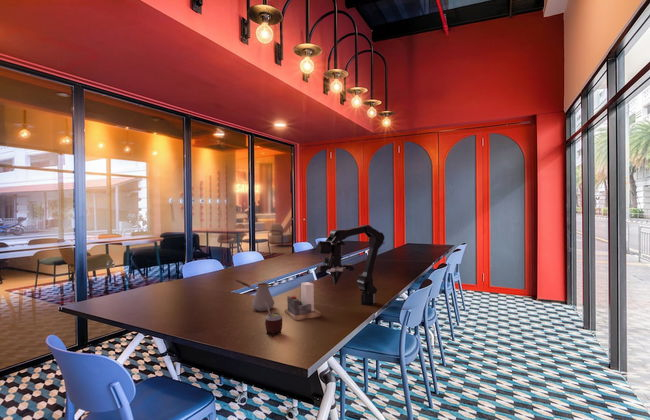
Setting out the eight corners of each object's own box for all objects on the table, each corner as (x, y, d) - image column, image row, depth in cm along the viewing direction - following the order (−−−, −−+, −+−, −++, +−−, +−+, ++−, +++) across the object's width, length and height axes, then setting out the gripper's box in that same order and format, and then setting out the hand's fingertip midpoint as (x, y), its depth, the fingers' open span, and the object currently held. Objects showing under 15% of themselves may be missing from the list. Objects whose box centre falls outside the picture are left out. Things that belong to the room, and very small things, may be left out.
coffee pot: (277, 306, 183) (276, 278, 182) (270, 312, 171) (269, 282, 171) (239, 304, 186) (239, 277, 186) (230, 311, 175) (229, 281, 175)
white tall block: (308, 307, 173) (308, 282, 173) (313, 310, 167) (313, 284, 167) (301, 308, 171) (301, 282, 171) (306, 312, 166) (306, 285, 166)
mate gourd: (283, 330, 146) (282, 295, 146) (281, 337, 138) (281, 300, 138) (265, 331, 145) (265, 295, 145) (262, 338, 138) (262, 300, 137)
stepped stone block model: (309, 308, 177) (309, 290, 177) (321, 316, 165) (320, 296, 165) (284, 312, 171) (284, 293, 171) (295, 320, 159) (294, 300, 159)
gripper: (346, 252, 187) (345, 280, 187) (313, 252, 181) (313, 282, 181) (355, 254, 177) (354, 284, 176) (320, 254, 170) (320, 286, 170)
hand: (335, 284), depth 176 cm, fingers closed
